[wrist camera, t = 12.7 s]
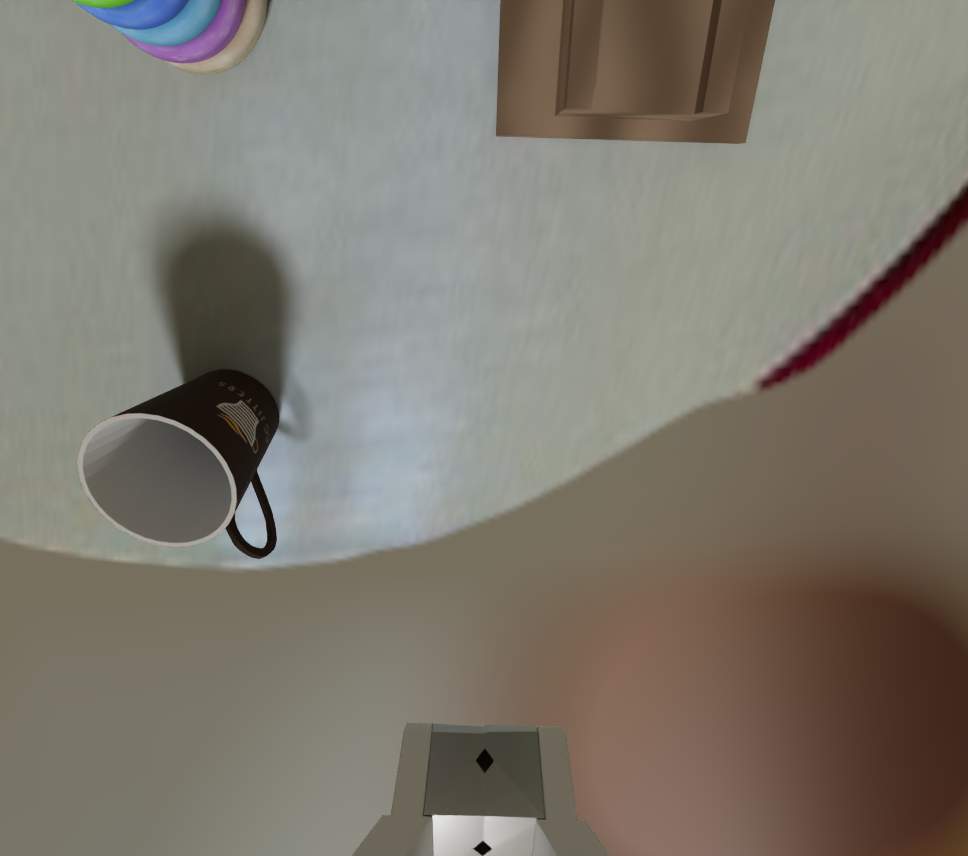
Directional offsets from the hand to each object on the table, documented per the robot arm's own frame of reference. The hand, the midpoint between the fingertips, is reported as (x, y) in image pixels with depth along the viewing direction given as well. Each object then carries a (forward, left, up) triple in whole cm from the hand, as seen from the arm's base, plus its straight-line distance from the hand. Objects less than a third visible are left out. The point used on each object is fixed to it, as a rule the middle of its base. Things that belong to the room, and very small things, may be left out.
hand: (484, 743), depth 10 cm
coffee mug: (-18, -8, -29) cm, 35 cm away
